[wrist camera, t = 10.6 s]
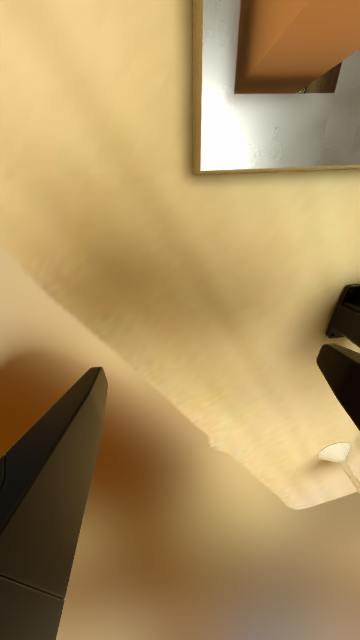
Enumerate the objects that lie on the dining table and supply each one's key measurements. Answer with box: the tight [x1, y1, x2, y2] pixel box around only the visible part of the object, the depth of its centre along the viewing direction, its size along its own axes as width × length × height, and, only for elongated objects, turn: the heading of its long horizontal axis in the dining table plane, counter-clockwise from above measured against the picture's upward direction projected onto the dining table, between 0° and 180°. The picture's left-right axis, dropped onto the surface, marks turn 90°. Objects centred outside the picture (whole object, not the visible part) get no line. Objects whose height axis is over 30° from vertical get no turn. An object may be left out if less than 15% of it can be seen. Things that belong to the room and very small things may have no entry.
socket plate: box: [192, 0, 360, 174], centre depth 11 cm, size 14×12×3 cm
